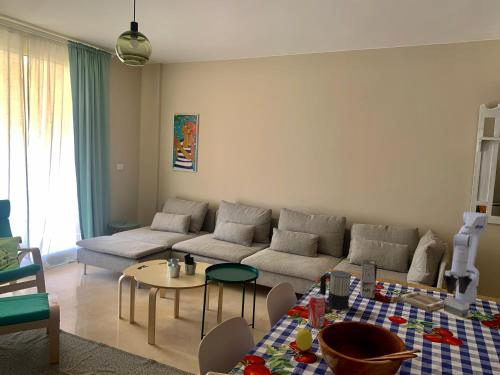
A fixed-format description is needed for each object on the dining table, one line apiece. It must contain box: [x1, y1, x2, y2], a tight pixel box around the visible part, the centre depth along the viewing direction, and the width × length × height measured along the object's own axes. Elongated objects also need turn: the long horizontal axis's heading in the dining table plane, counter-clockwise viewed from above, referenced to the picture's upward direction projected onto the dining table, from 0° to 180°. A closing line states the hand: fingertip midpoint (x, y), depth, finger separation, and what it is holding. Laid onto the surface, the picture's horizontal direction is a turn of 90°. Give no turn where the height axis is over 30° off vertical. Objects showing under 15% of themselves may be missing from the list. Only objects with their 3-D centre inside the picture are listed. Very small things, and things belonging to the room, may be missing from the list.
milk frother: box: [319, 270, 352, 313], centre depth 174 cm, size 14×16×15 cm
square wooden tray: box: [392, 291, 445, 313], centre depth 183 cm, size 18×18×3 cm
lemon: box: [295, 327, 313, 352], centre depth 135 cm, size 6×6×8 cm
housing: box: [444, 296, 470, 317], centre depth 171 cm, size 5×8×6 cm, turn 34°
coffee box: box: [359, 259, 378, 299], centre depth 193 cm, size 9×6×16 cm
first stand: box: [436, 308, 476, 321], centre depth 171 cm, size 11×11×2 cm
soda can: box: [307, 292, 327, 329], centre depth 155 cm, size 6×6×12 cm
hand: (455, 293), depth 171 cm, fingers open, 7 cm apart
